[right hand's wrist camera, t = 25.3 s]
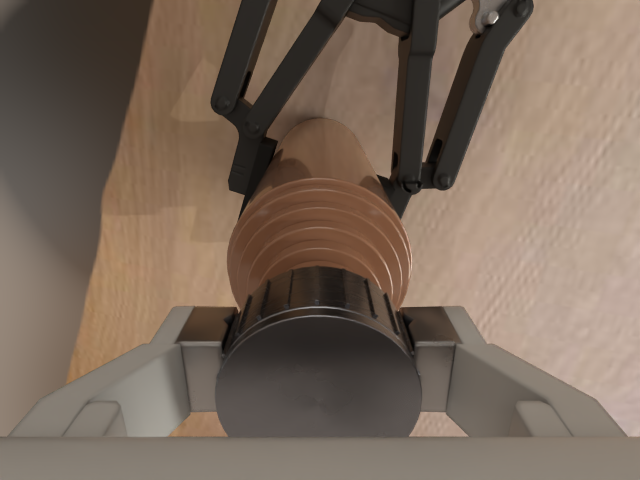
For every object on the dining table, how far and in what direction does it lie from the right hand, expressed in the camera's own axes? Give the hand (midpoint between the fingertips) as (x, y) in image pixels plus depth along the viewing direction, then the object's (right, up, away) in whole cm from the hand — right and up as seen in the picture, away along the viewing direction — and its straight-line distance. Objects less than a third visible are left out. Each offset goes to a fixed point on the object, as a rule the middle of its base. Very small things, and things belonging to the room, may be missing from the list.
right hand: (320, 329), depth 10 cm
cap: (0, -1, -2) cm, 2 cm away
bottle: (0, +8, +20) cm, 21 cm away
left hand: (-2, +1, +15) cm, 15 cm away
